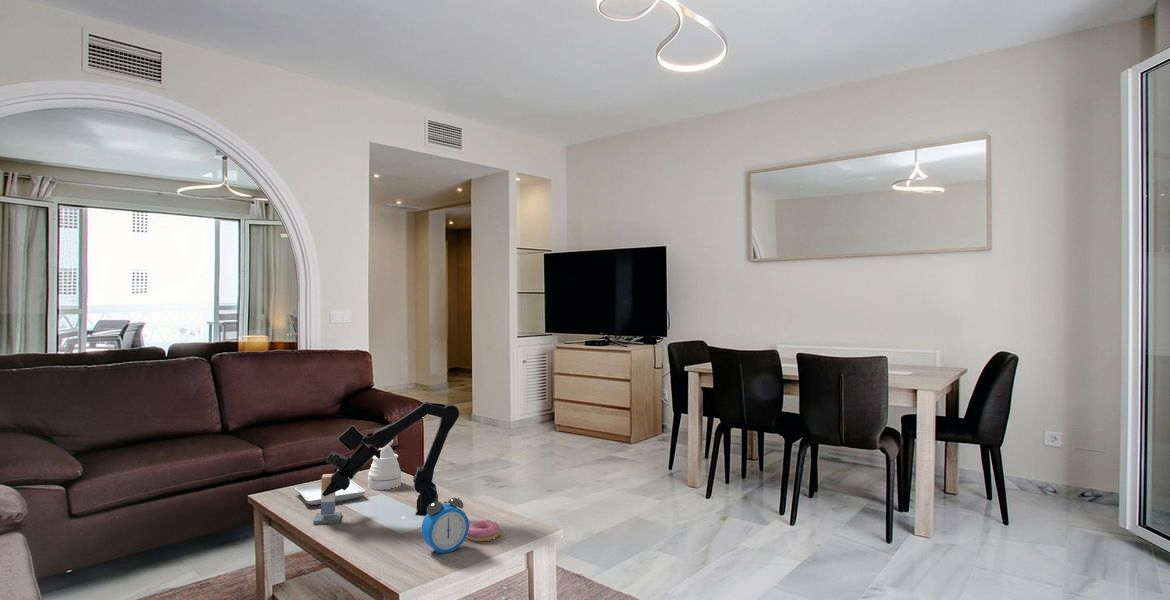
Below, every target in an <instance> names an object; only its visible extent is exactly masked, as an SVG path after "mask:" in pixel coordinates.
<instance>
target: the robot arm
mask: <svg viewBox="0 0 1170 600" xmlns="http://www.w3.org/2000/svg"><path fill="white" fill-rule="evenodd" d="M427 415H430V416H434V417H437V418H440V419H439V426H438V428H437V431H436V433H435V436H434V439H433V441H432V442H431V443H432V444H431V446H430V449H429V451H428V452H427V456H426V459H425V460H424V463H423V465H422V466H421V467H420V466H417V467H416V470H415V471H416V472H415V474H414V475H413V476H412V477H413V478H412V481H413V483H414V484H413V486H414V490H415V491H416V492H417V493H418V495H417V499H416V512H415V515H418V516H419V515H422V516H426V514H427V508H428V506H429V505H430V504H431V503H432V502H435V501H439V494H438V488H437V485H436V484H435V483H434V482H433V479H434V474H435V473H434V472H435V467H436V465H437V462H438V461H439V458H440V455H441V453H442V450H443V447H444V444H445V443H446V440H447V437H448V434H449V433H450V431H451V429H452V428H453V426H454V425H455V423H456V422H457V420H458V418H459V416H460V410H459V408H458V406H457V405H456V404H455V403H453V402H448V403H446V404H445V403H444V404H443V403H438V402H437V403H436V402H430V401H425V402H422V403H421V405H419V406H417V407H415V409H413V410H411V411H410V412H409V413H407V414H405V415H403V416H402V417H400V418H398V419H397V420H395V422H393V423H390V424H387V425H385V426H382V427H380V428H377V429H375V430H374V431H373V432H368V433H364V434H363V433H362V432H361V431H360V430H359V429H358V428H357V427H356V426H355V425H354V424H352V425H351V426H350V427H348V428H347V429H345V430H344V431H343V432H342V433H341V434H340V435H339V436H338V437H337V441H338V442H339V443H341V444H342V445H343V446H344V447H345V448H346V449H347V450H348V451H354V452H353V453H351V454H349V455H348V456H346V455H344V454H342V453H340V452H337V451H334V450H331V451H330V453H329V454H328V457H327V458H326V460H325V463H327V464H331V465H333V466H335V467H336V468H334V470H333V473H332V474H333V475H332V476H331V483H330V484H329V485H328V487H327V488H326V490H325V491H324V492H323V494H322V495H323V496H327V495H329V494H331V493H334V492H336V491H339V490H341V489H343V490H346V489H347V488H348V487H349V485H350V479H351V480H353V479H354V478H355V475H357V474H358V472H359V471H362V470H363V469H364V467H365V466H366V465H367V463H369V462H370V461H371V460H373V457H374V456H376V457H377V458H378V459H380V456H381V455H380V452H381V449H380V450H379V448H383V447H385V446H386V445H387V444H388V443H389V442H390V441H392V440H393V441H394V439H395V438H396V437H397V435H399V434H400V433H402V432H403V431H404V430H405V429H407V428H408V427H411V426H412V425H413V424H415V423H417V422H418V421H419V420H420V419H421V420H422V418H424V417H426V416H427Z"/></svg>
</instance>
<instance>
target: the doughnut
mask: <svg viewBox="0 0 1170 600" xmlns="http://www.w3.org/2000/svg"><path fill="white" fill-rule="evenodd" d="M497 523H498V522H496V521H495V522H494V521H491V520H477V521H473V522H470V523H469V531H468V534H467V537H466V538H467V539H468V540H470V541H472V540H473V542H476V541H486V542H488V541H487V540H491V539H493V540H495V539H496V538H498V536H499V535H500V532H501V528H500V526H499V525H498V524H497ZM494 538H495V539H494ZM491 541H492V540H491Z"/></svg>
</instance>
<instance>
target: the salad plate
mask: <svg viewBox="0 0 1170 600" xmlns="http://www.w3.org/2000/svg"><path fill="white" fill-rule="evenodd" d="M349 479H350V478H349ZM294 490H295V491H296V492H297V494H299V495H300V496H301V497H302V498H303V499H304V501H305V502H306V503H307V504H309V505H310V506H311V505H313V506H319V505H318V504H321V482H320V483H319V482H318V483H314V484H308V485H302V486H296V487H295V488H294ZM364 494H366V489H365V488H363V487H361V485H359V484H357V483H356V482H355V481H354V480H353V479H350V485H349V487H348V488H347V489H346V490H343V489H341V490H339V491H336V492H335V503H338V501H339V502H343V500H345V501H349V500H348V499H350V500H354V499H355V498H359V497H362V496H363V495H364ZM353 498H354V499H353Z"/></svg>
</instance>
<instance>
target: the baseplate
mask: <svg viewBox="0 0 1170 600" xmlns="http://www.w3.org/2000/svg"><path fill="white" fill-rule="evenodd" d="M342 513H343V512H342V511H335V512H334V514H329V515H321V512H318V513H316V515H315V517H314V519H313V521H312V522H313V523H312V524H315V525H326V524H325V523H329V524H338V523H340V521H341V518H342V516H341V515H342ZM322 523H323V524H322Z"/></svg>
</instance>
